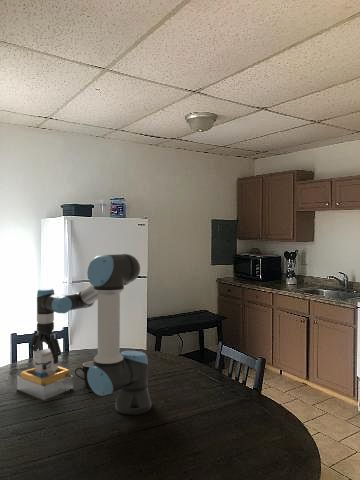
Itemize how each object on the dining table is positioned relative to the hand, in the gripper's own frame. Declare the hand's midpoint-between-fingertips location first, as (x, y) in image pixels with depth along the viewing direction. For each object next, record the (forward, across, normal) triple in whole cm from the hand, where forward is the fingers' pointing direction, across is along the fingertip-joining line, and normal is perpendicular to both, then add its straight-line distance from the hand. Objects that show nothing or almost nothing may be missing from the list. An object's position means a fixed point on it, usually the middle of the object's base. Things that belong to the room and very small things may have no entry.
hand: (45, 367), depth 185 cm
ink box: (+4, 0, 0) cm, 4 cm away
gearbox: (+10, +2, 0) cm, 10 cm away
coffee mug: (+10, -12, -16) cm, 23 cm away
